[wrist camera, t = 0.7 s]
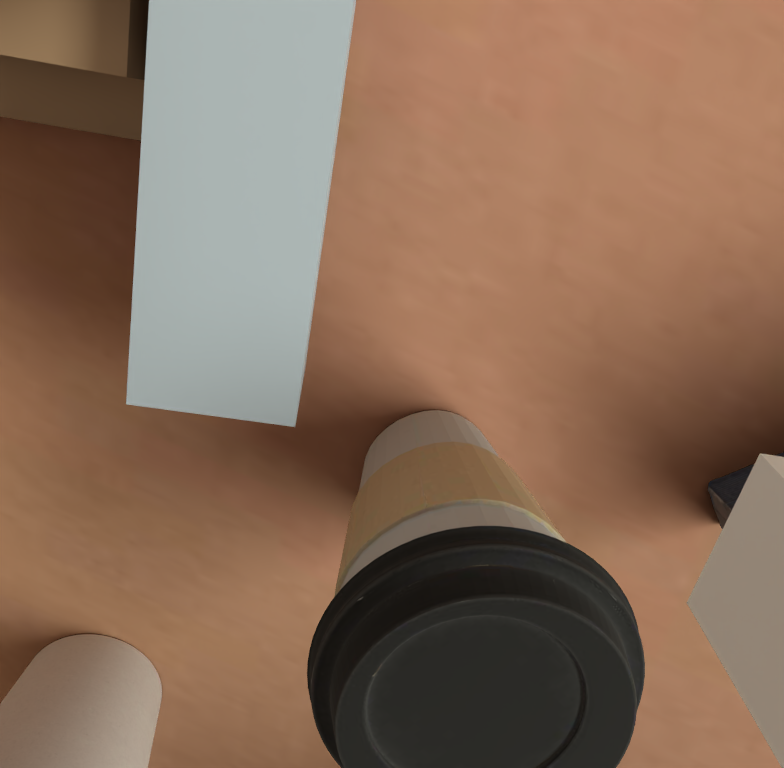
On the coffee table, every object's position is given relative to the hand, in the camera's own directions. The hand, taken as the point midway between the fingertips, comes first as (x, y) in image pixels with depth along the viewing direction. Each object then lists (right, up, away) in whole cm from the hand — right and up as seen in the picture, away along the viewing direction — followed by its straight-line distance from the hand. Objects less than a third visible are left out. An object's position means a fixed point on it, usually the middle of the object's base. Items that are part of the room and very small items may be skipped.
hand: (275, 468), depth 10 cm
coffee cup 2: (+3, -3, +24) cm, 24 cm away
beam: (-2, +12, +14) cm, 18 cm away
